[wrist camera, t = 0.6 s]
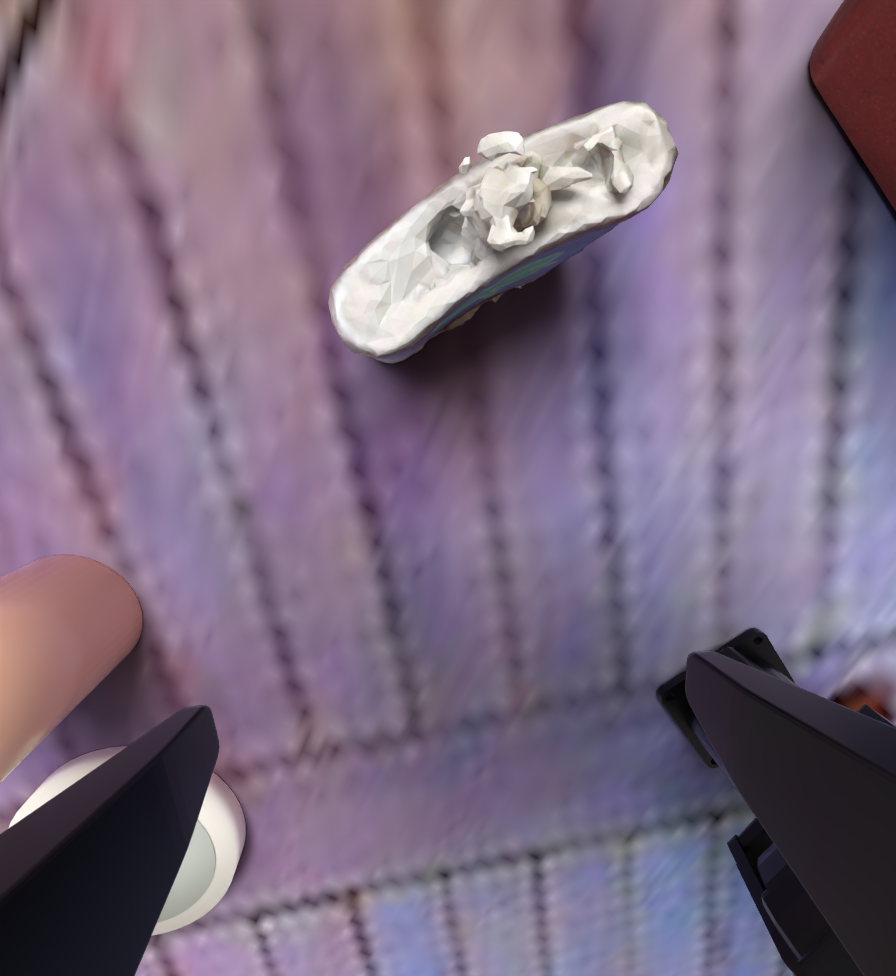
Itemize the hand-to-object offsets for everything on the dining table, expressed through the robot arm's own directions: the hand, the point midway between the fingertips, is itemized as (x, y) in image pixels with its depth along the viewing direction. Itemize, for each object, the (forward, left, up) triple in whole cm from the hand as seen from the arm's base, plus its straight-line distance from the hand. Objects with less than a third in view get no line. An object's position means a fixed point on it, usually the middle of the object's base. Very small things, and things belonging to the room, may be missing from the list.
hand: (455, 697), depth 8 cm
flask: (+7, -7, -13) cm, 16 cm away
